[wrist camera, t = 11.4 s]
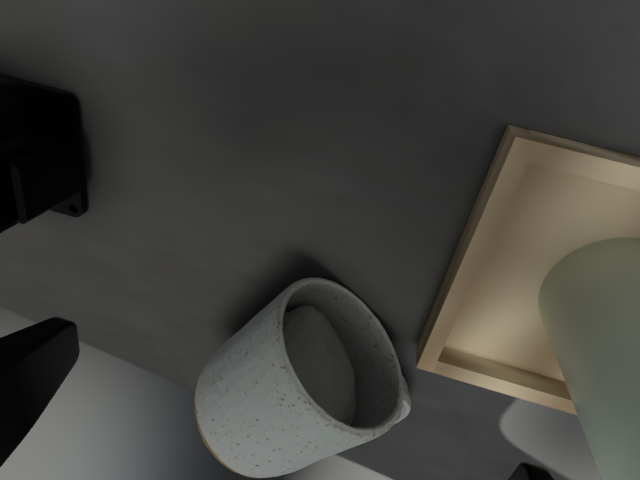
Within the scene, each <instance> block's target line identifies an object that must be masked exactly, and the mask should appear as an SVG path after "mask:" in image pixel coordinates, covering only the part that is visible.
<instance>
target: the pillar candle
mask: <svg viewBox="0 0 640 480" xmlns="http://www.w3.org/2000/svg"><path fill="white" fill-rule="evenodd" d="M538 306H539V312H540V316H541V318H542V321H543V324H544V326H545V329H546V332H547V335H548V337H549V340H550V343H551V345H552V348H553V351H554V353H555V356H556V359H557V361H558V364H559V367H560V369H561V372H562V375H563V377H564V380H565V383H566V386H567V388H568V391H569V394H570V396H571V399H572V402H573V404H574V407H575V410H576V412H577V415H578V418H579V420H580V423H581V426H582V428H583V431H584V434H585V436H586V439H587V442H588V445H589V447H590V449H591V453H592V455H593V458H594V461H595V463H596V466H597V468H598V471H599V474H600V477H601V479H602V480H640V238H614V239H606V240H602V241H598V242H595V243H592V244H589V245H586V246H584V247H582V248H579V249H577V250H575V251H574V252H572V253H570V254H569V255H567V256H566V257H565V258H563V259H562V260H561V261H559V262H558V263H557V264H556V265H555V266H554V267H553V268H552V270H551V271H550V272H549V273H548V275H547V276H546V278H545V280H544V281H543V284H542V286H541V289H540V293H539V299H538Z"/></svg>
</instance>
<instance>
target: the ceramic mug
mask: <svg viewBox="0 0 640 480" xmlns="http://www.w3.org/2000/svg"><path fill="white" fill-rule="evenodd" d="M194 406H195V416H196V421H197V425H198V429H199V432H200V434H201V436H202V439H203V441H204V442H205V444H206V446H207V447H208V448H209V450H210V451H211V452H212V454H214V456H215V457H216V458H217V459H218V460H219V462H220V463H222V464H223V465H224V466H226V467H227V468H229V469H230V470H232V471H233V472H236V473H238V474H241V475H244V476H247V477H253V478H267V477H275V476H280V475H284V474H288V473H292V472H294V471H297V470H299V469H302V468H304V467H306V466H308V465H310V464H311V463H314V462H316V461H318V460H321V459H324V458H326V457H329V456H332V455H334V454H337V453H339V452H342V451H344V450H347V449H349V448H352V447H355V446H357V445H360V444H363V443H365V442H368V441H370V440H372V439H374V438H377V437H379V436H380V435H382V434H384V433H385V432H387V431H388V430H389V429H390V428H391V426H392V425H393V424H395V423H397V422H399V421H401V420H402V419H403V418H405V417H406V416H407V415H408V414H409V413H410V409H411V400H410V396H409V391H408V386H407V383H406V380H405V378H404V377H403V375H402V372H401V367H400V363H399V361H398V357H397V354H396V352H395V350H394V347H393V345H392V342H391V340H390V339H389V337H388V335H387V333H386V331H385V329H384V327H383V326H382V325H381V323H380V322H379V320H378V319H377V318H376V316H375V315H374V314H373V313H372V311H371V310H370V309H369V308H368V307H367V306H366V305H365V304H364V303H363V302H362V301H361V300H360V299H359V298H358V297H357V296H356V295H354V294H353V293H352V292H350V291H349V290H348V289H347V288H345V287H343V286H341V285H339V284H337V283H335V282H334V281H330V280H327V279H323V278H311V277H310V278H305V279H301V280H298V281H296V282H294V283H293V284H291V285H290V286H289V287H287V288H286V289H285V290H284V291H283V292H282V293H280V294H279V295H278V296H277V297H276V298H275V299H274V300H273V301H272V302H271V303H269V304H268V305H267V306H266V307H265V308H264V309H262V310H261V311H260V312H259V313H258V314H256V315H255V316H254V317H253V318H252V319H251V320H250V321H249V322H248V323H247V324H246V325H245V326H244V327H242V328H241V329H240V330H239V331H238V332H237V333H236V334H234V335H233V336H232V337H230V338H229V339H228V340H227V341H226V342H225V343H223V344H222V345H221V346H220V347H219V348H218V350H217V351H216V352H215V353H214V354H213V356H212V357H211V359H210V360H209V361H208V362H207V364H206V365H205V367H204V368H203V370H202V372H201V374H200V377H199V380H198V382H197V386H196V390H195V401H194Z"/></svg>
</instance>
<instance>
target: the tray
mask: <svg viewBox="0 0 640 480" xmlns="http://www.w3.org/2000/svg"><path fill="white" fill-rule="evenodd" d="M614 238H640V157H638V156H634V155H630V154H626V153H622V152H618V151H614V150H610V149H606V148H602V147H598V146H594V145H590V144H586V143H581V142H577V141H573V140H569V139H565V138H561V137H557V136H553V135H549V134H545V133H541V132H537V131H533V130H529V129H525V128H521V127H517V126H513V125H509V124H508V125H507V128H506V130H505V132H504V135H503V137H502V140H501V142H500V145H499V147H498V149H497V152H496V154H495V157H494V159H493V161H492V164H491V166H490V169H489V171H488V173H487V176H486V178H485V181H484V183H483V185H482V188H481V190H480V193H479V195H478V197H477V200H476V202H475V205H474V207H473V210H472V212H471V214H470V217H469V219H468V222H467V224H466V226H465V229H464V231H463V234H462V236H461V238H460V241H459V243H458V246H457V248H456V250H455V253H454V255H453V258H452V260H451V262H450V265H449V267H448V270H447V272H446V275H445V277H444V279H443V282H442V284H441V287H440V289H439V291H438V294H437V296H436V299H435V301H434V303H433V306H432V308H431V311H430V313H429V315H428V318H427V320H426V323H425V325H424V327H423V330H422V332H421V335H420V337H419V339H418V342H417V357H416V368H419V369H422V370H426V371H429V372H432V373H436V374H439V375H443V376H446V377H449V378H453V379H456V380H459V381H463V382H466V383H470V384H473V385H476V386H480V387H483V388H486V389H490V390H493V391H497V392H500V393H503V394H507V395H510V396H514V397H517V398H520V399H524V400H527V401H531V402H534V403H537V404H541V405H544V406H547V407H551V408H554V409H558V410H561V411H564V412H568V413H571V414H574V415H577V412H576V410H575V407H574V404H573V402H572V399H571V396H570V394H569V391H568V388H567V386H566V383H565V380H564V377H563V375H562V372H561V369H560V367H559V364H558V361H557V359H556V356H555V353H554V351H553V348H552V345H551V343H550V340H549V337H548V335H547V332H546V329H545V326H544V324H543V321H542V318H541V316H540V312H539V306H538V299H539V293H540V289H541V286H542V284H543V281H544V280H545V278H546V276H547V275H548V273H549V272H550V271H551V270H552V268H553V267H554V266H555V265H556V264H557V263H558V262H559V261H561V260H562V259H563V258H565V257H566V256H567V255H569V254H570V253H572V252H574V251H575V250H577V249H579V248H582V247H584V246H586V245H589V244H592V243H595V242H598V241H602V240H606V239H614Z"/></svg>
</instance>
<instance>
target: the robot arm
mask: <svg viewBox="0 0 640 480" xmlns="http://www.w3.org/2000/svg"><path fill="white" fill-rule="evenodd" d="M64 100H65V101H66V102H67V105H68V107H66V105H65V104H64ZM74 205H75V206H76V207H77V209H76V207H75V206H74ZM48 210H52V211H55V212H59V213H62V214H66V215H69V216H73V217H79V216H81V215H83V214H84V213H85V212H86V211H87V201H86V190H85V175H84V163H83V151H82V142H81V130H80V119H79V107H78V102H77V99H76V98H75V96H74V95H72V94H71V93H69V92H67V91H63V90H59V89H55V88H52V87H48V86H44V85H40V84H36V83H32V82H29V81H25V80H21V79H17V78H13V77H10V76H6V75H2V74H0V233H2V232H3V231H5V230H7V229H9V228H10V227H12V226H14V225H16V224H18V223H22V224H24V223H27V222H28V221H30V220H32V219H34V218H35V217H37V216H39V215H41V214H42V213H44V212H46V211H48ZM78 356H79V341H78V332H77V326H76V324H75V323H74V322H72V321H69V320H66V319H63V318H59V317H53V318H50V319H47V320H45V321H42V322H40V323H37V324H34V325H32V326H29V327H27V328H24V329H22V330H19V331H17V332H14V333H12V334H9V335H7V336H4V337H1V338H0V467H1V466H2V465H3V463H4V462H5V461H6V460H7V458H8V457H9V456H10V455H11V454H12V452H13V451H14V450H15V449H16V447H17V446H18V445H19V444H20V443H21V441H22V440H23V439H24V437H25V436H26V435H27V433H28V432H29V431H30V429H31V428H32V427H33V425H34V424H35V423H36V421H37V420H38V419H39V417H40V415H41V414H42V413H43V411H44V410H45V408H46V406H47V405H48V403H49V402H50V400H51V399H52V398H53V396H54V395H55V393H56V392H57V390H58V389H59V387H60V386H61V384H62V383H63V381H64V380H65V378H66V377H67V375H68V374H69V372H70V371H71V369H72V368H73V366H74V364H75V363H76V361H77V359H78ZM508 480H554V478H553V477H552V475H551V474H550V473H549V471H548V470H547V469H545V468H544V467H541V466H538V465H535V464H532V463H529V462H522V463H520V464H519V465H518V467H517V468H516V470H515V471H514V472H513V474H512V475H511V477H510V478H509V479H508Z"/></svg>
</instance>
